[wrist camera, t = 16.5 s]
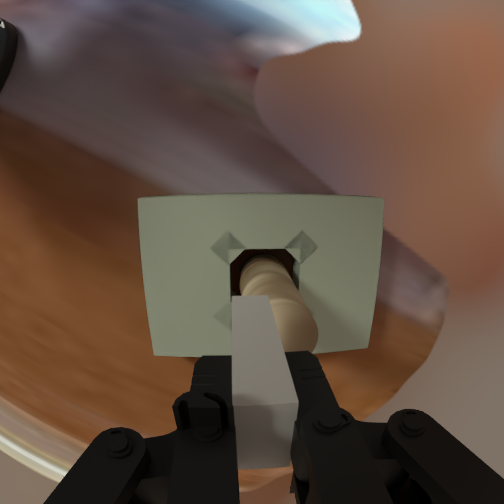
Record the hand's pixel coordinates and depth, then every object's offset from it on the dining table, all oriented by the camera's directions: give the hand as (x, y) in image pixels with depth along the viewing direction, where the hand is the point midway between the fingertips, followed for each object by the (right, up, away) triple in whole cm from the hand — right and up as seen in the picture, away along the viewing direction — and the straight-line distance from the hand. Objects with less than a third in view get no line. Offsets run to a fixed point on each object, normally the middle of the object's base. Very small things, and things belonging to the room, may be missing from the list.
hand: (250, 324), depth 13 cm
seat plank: (+1, +1, +14) cm, 15 cm away
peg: (+1, +1, +15) cm, 15 cm away
